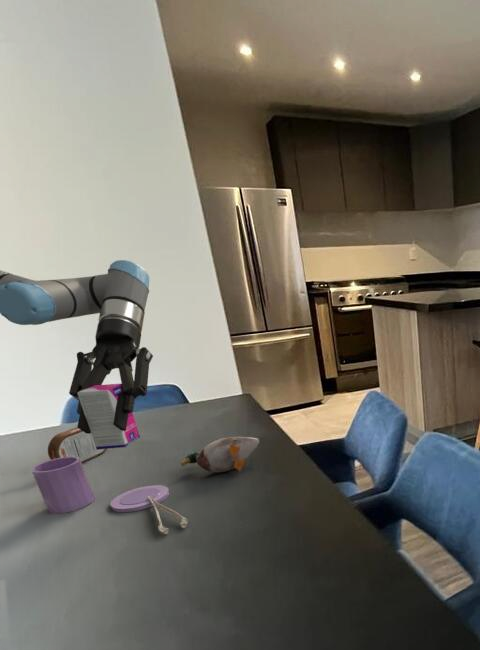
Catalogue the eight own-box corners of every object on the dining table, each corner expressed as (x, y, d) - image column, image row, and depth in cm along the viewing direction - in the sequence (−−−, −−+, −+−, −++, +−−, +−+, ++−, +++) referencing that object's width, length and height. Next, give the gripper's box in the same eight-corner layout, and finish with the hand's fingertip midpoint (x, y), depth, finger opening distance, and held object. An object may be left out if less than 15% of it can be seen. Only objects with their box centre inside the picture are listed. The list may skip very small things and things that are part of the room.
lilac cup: (43, 517, 96) (25, 475, 92) (53, 501, 102) (37, 461, 99) (90, 507, 99) (75, 466, 95) (97, 492, 105) (82, 453, 102)
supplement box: (127, 447, 95) (106, 389, 91) (95, 450, 95) (74, 392, 90) (142, 436, 100) (123, 382, 96) (112, 439, 100) (92, 384, 96)
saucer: (107, 517, 94) (106, 513, 94) (115, 496, 103) (113, 492, 103) (168, 503, 98) (167, 499, 98) (170, 484, 107) (169, 480, 107)
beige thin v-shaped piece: (190, 526, 89) (187, 516, 88) (162, 536, 86) (158, 527, 85) (162, 498, 101) (159, 489, 100) (137, 507, 98) (134, 498, 97)
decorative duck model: (168, 449, 109) (222, 425, 121) (180, 479, 112) (232, 453, 124) (212, 450, 102) (265, 425, 115) (224, 482, 105) (275, 454, 117)
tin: (106, 448, 131) (95, 418, 128) (116, 448, 131) (105, 418, 127) (54, 472, 118) (40, 439, 115) (64, 472, 117) (51, 439, 114)
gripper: (176, 335, 105) (163, 433, 96) (85, 342, 104) (64, 441, 95) (157, 312, 98) (142, 415, 90) (60, 319, 97) (34, 424, 88)
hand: (101, 428), depth 92 cm, fingers closed on supplement box, 6 cm apart
